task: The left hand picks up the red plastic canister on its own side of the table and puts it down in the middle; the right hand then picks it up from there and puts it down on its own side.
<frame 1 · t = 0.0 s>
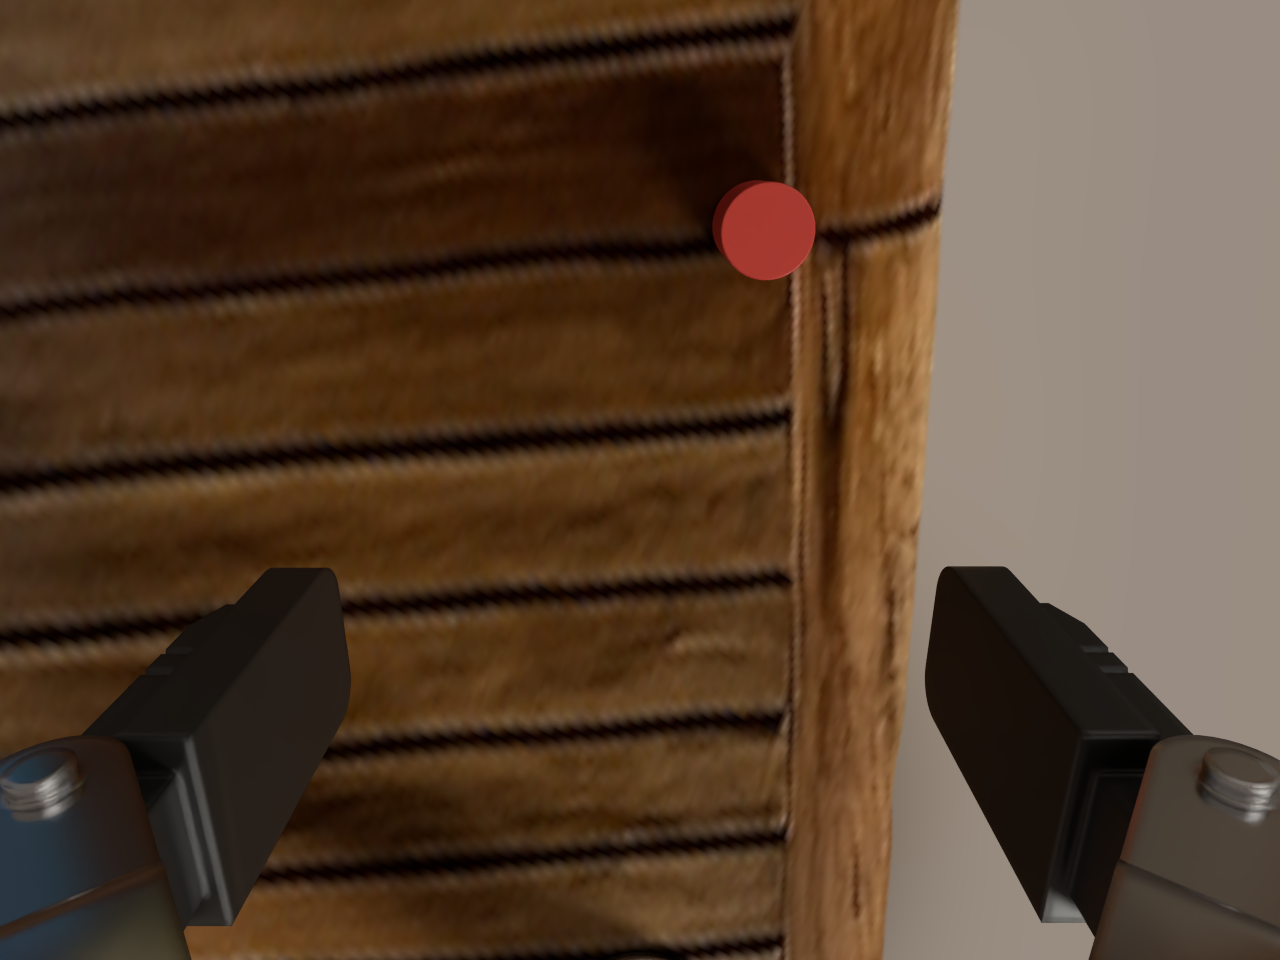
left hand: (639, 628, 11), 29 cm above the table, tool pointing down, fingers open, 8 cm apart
canister: (754, 225, 37), on the table
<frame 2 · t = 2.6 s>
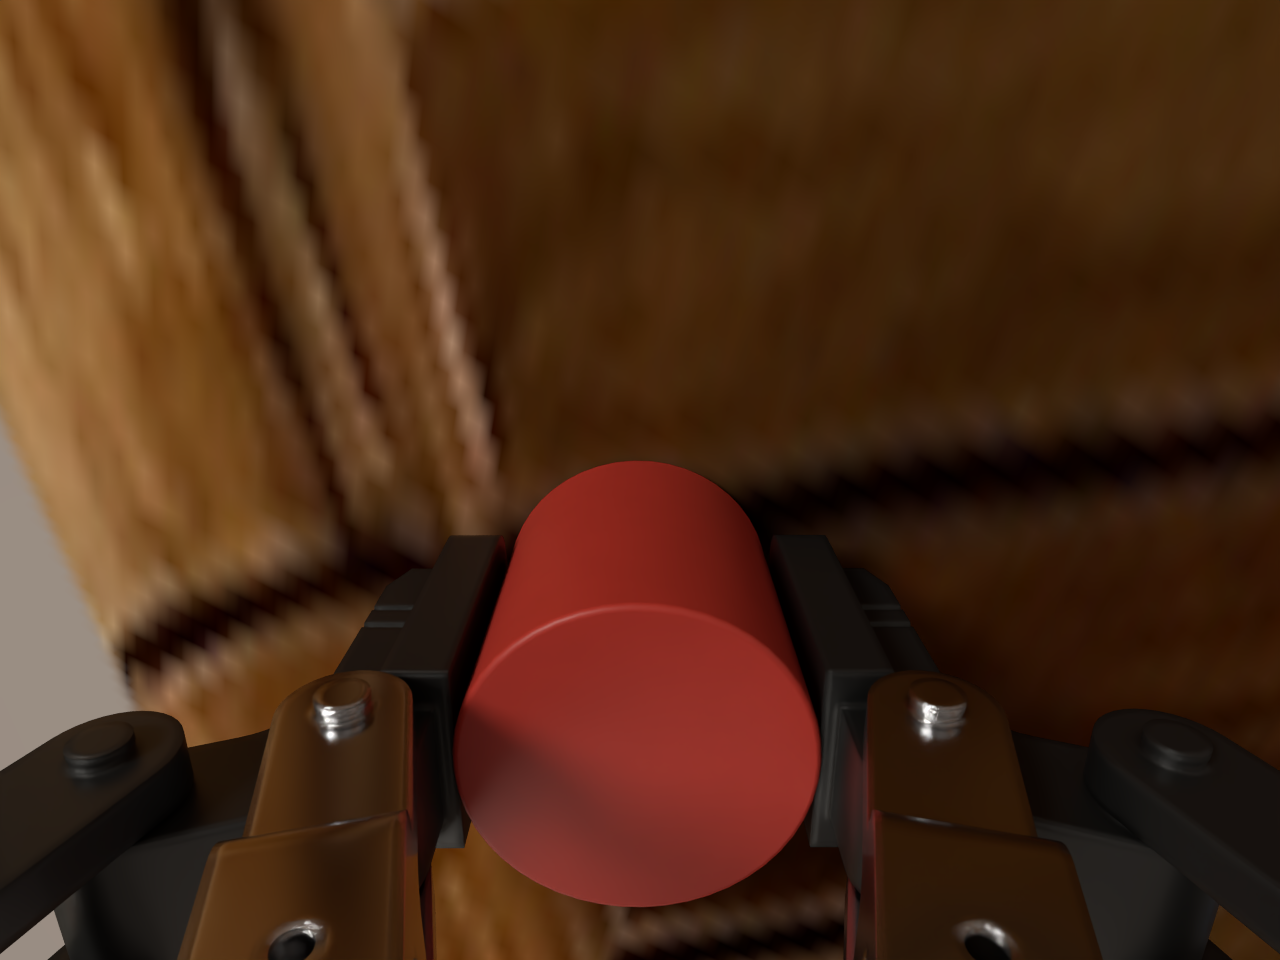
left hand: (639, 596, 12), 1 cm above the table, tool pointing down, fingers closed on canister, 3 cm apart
canister: (638, 578, 13), on the table, touching left hand
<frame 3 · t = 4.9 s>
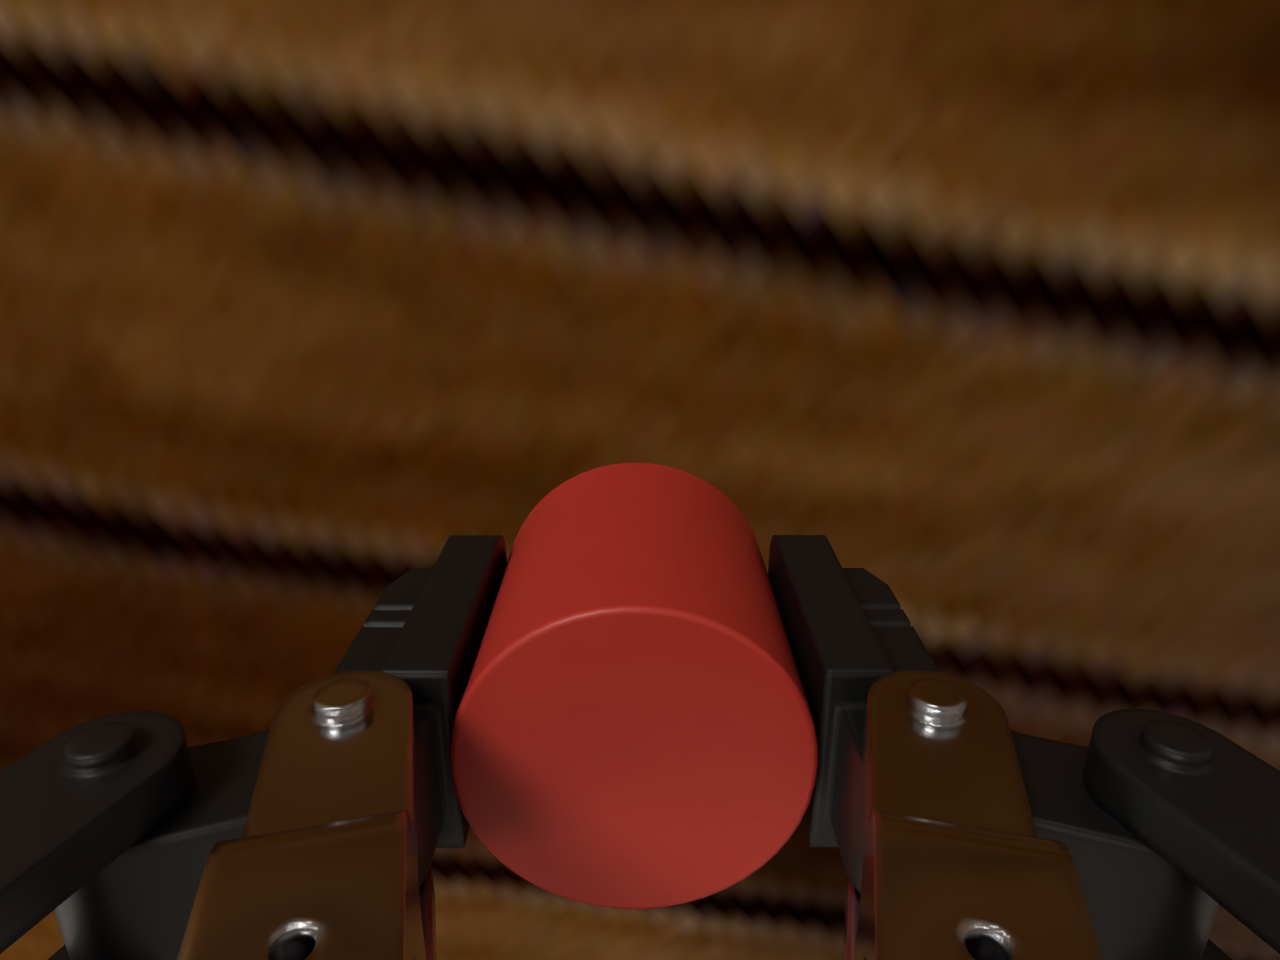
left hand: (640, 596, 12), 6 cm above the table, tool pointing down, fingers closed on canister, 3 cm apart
canister: (635, 580, 13), point 5 cm above the table, touching left hand
when the left hand's fingers open (1 cm above the table, at t = 7.1 s): canister stays where it is, on the table.
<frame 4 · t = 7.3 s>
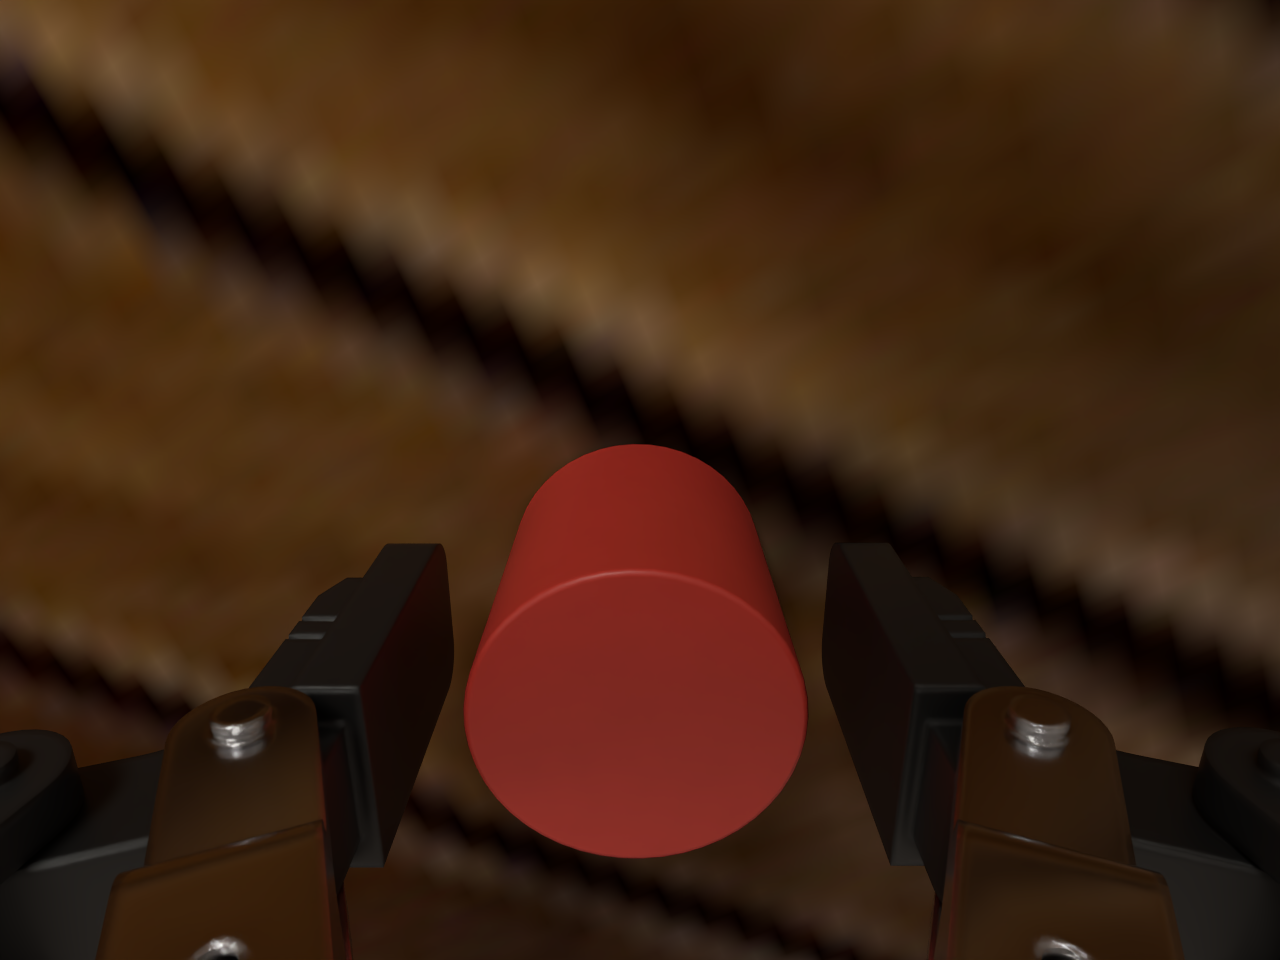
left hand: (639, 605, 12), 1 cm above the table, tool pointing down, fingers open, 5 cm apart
canister: (637, 557, 13), on the table
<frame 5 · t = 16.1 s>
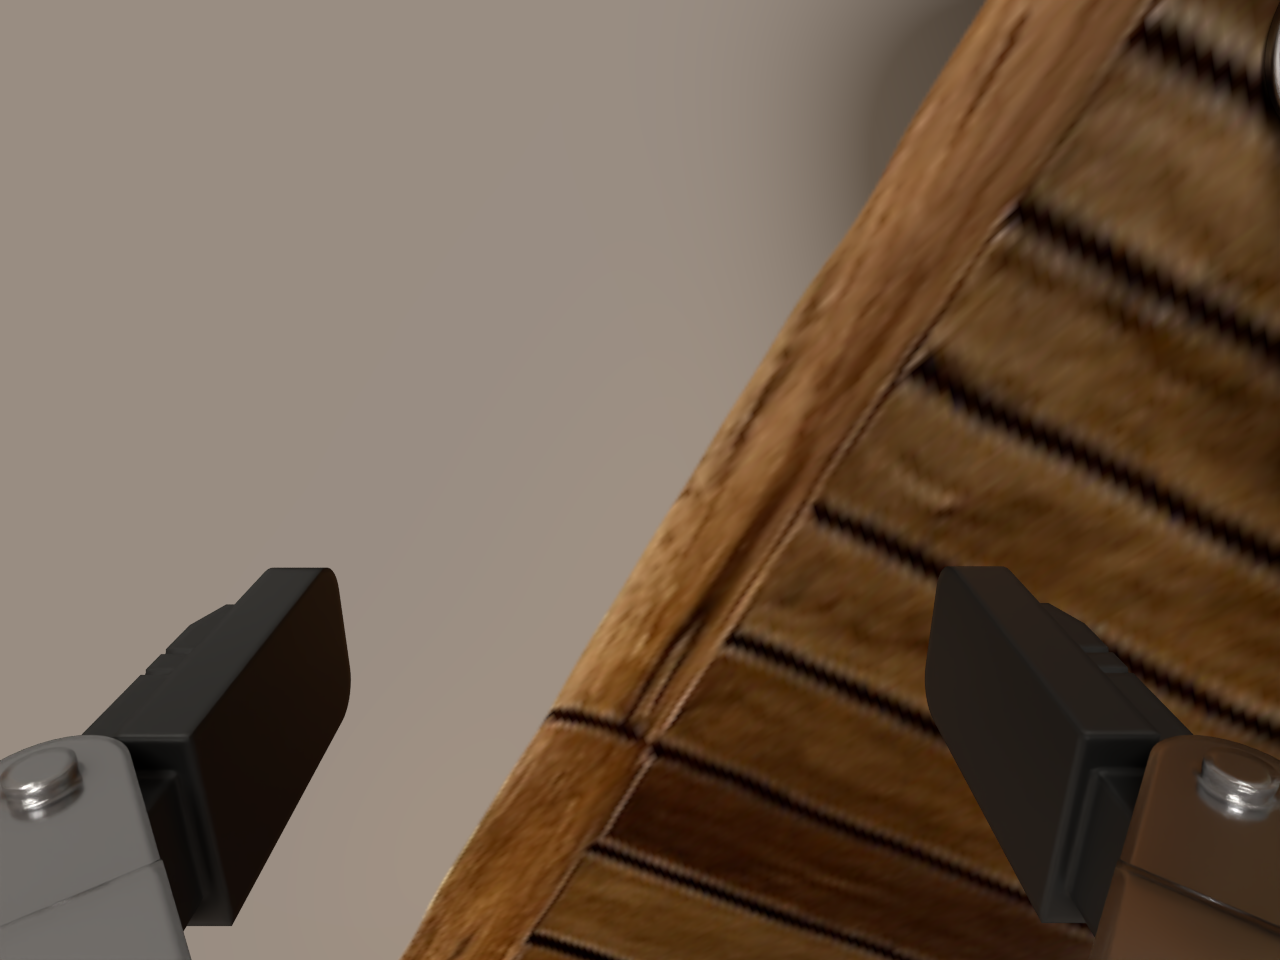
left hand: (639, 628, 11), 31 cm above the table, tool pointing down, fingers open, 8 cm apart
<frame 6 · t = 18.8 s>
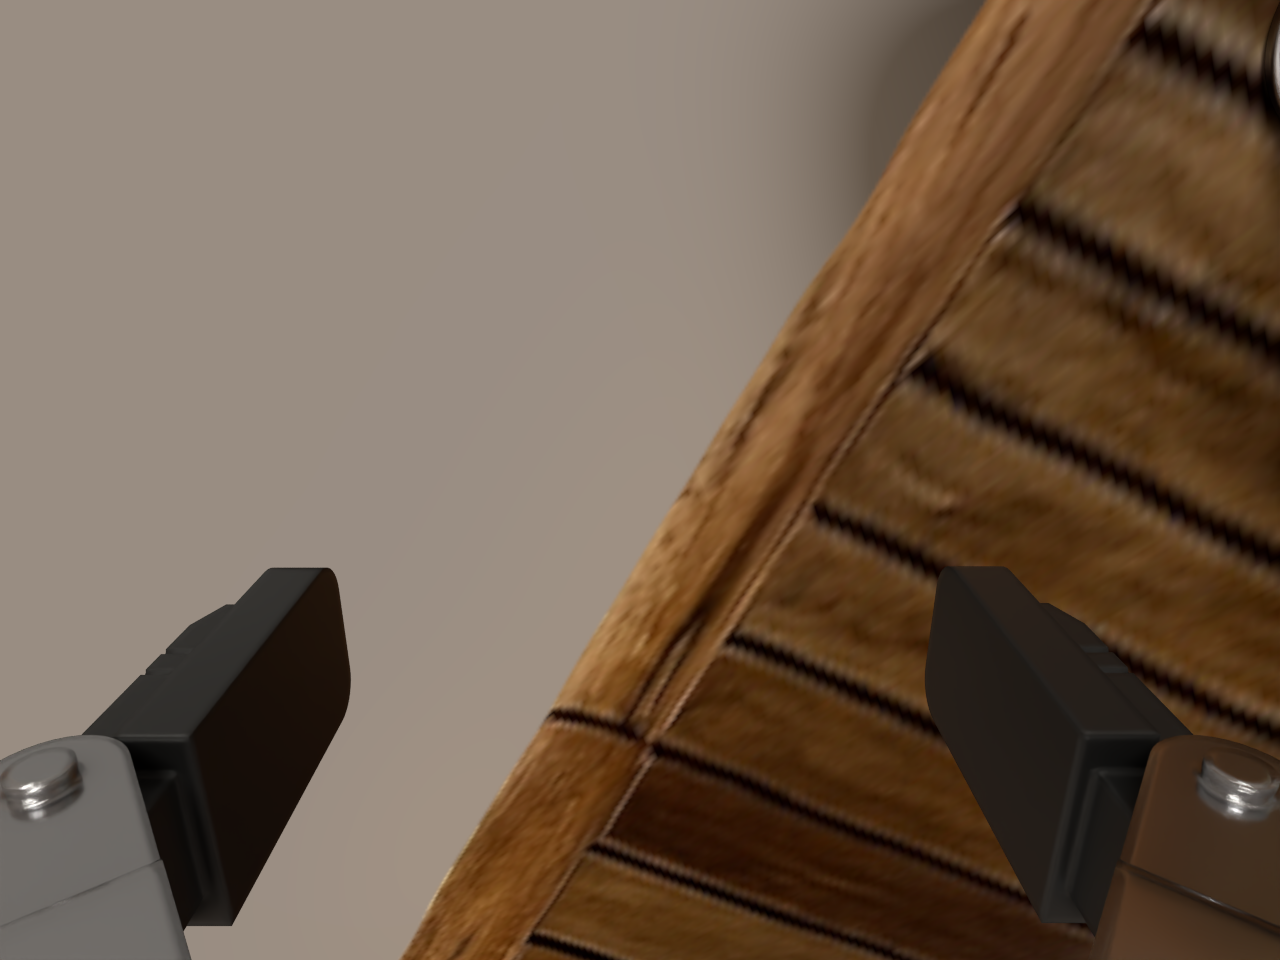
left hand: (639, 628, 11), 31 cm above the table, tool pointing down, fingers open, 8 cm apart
when the right hand's fingers open (0 cm above the table, at t = 21.6 s): canister stays where it is, on the table.
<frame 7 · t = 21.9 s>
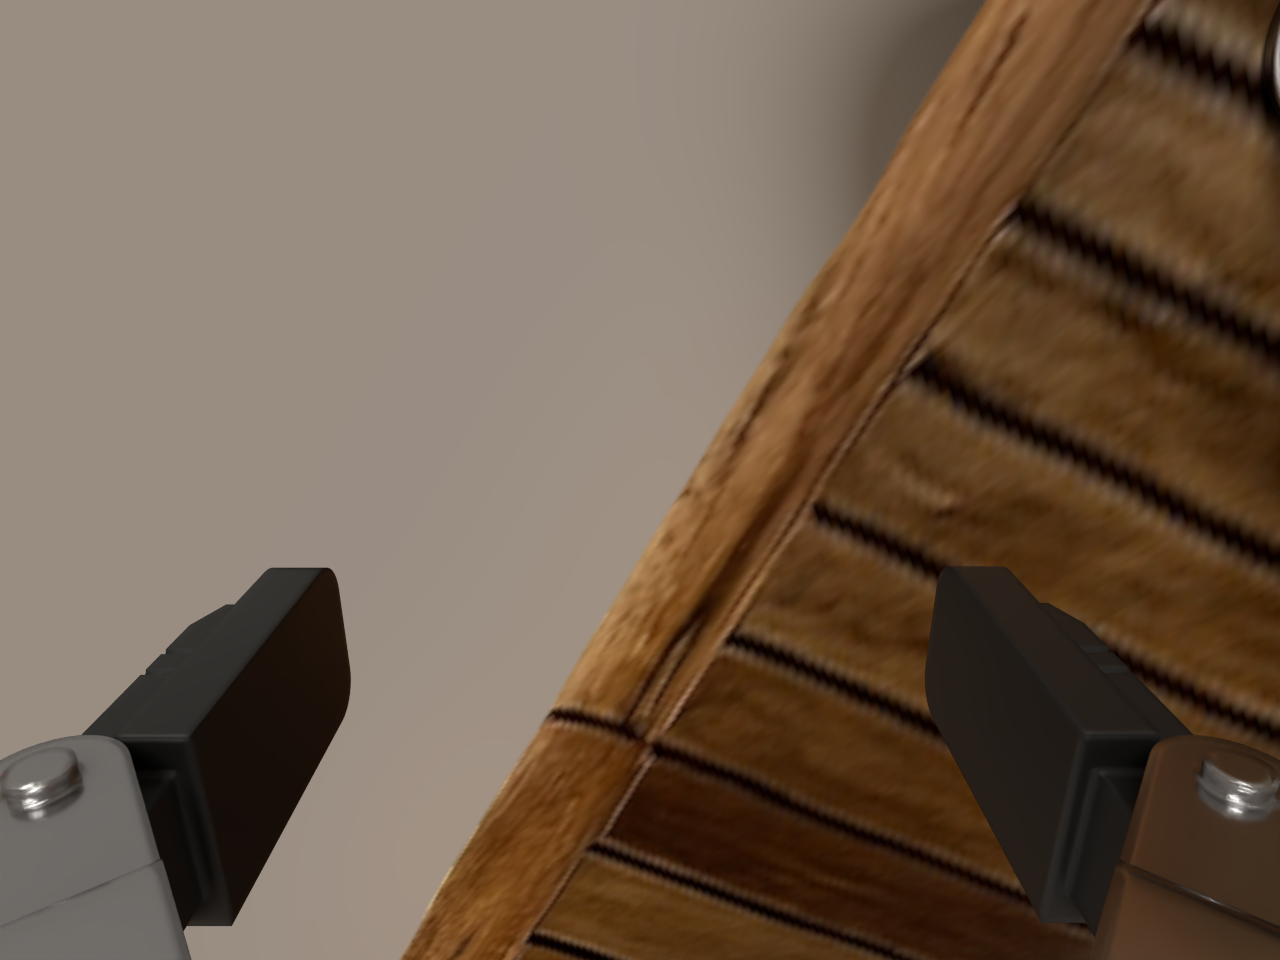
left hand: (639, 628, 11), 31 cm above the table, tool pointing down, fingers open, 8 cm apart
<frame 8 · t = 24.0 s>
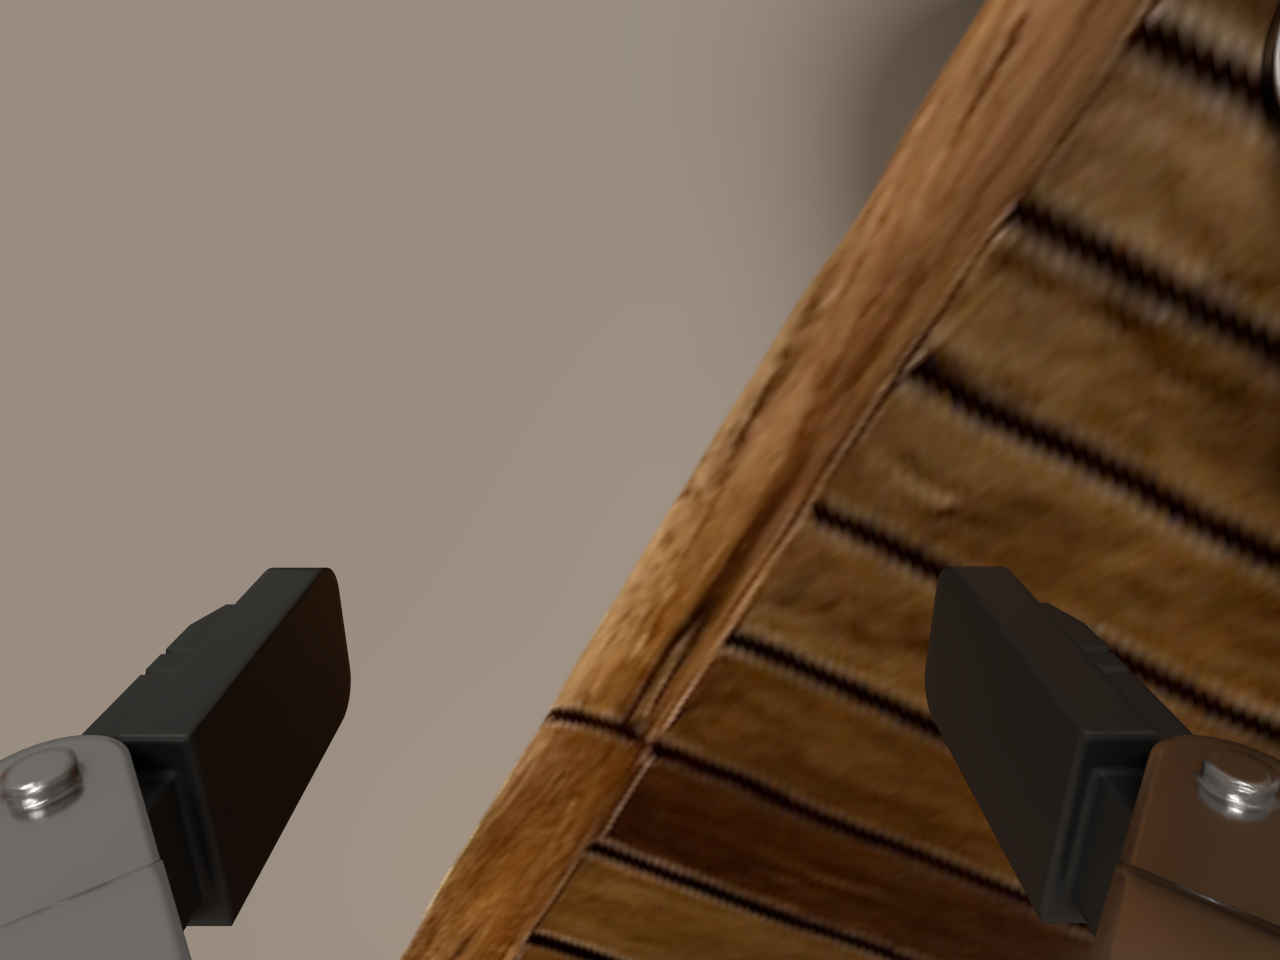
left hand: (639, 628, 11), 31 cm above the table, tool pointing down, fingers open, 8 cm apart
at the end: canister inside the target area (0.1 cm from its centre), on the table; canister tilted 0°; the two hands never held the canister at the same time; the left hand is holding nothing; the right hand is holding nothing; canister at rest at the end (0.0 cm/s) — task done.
